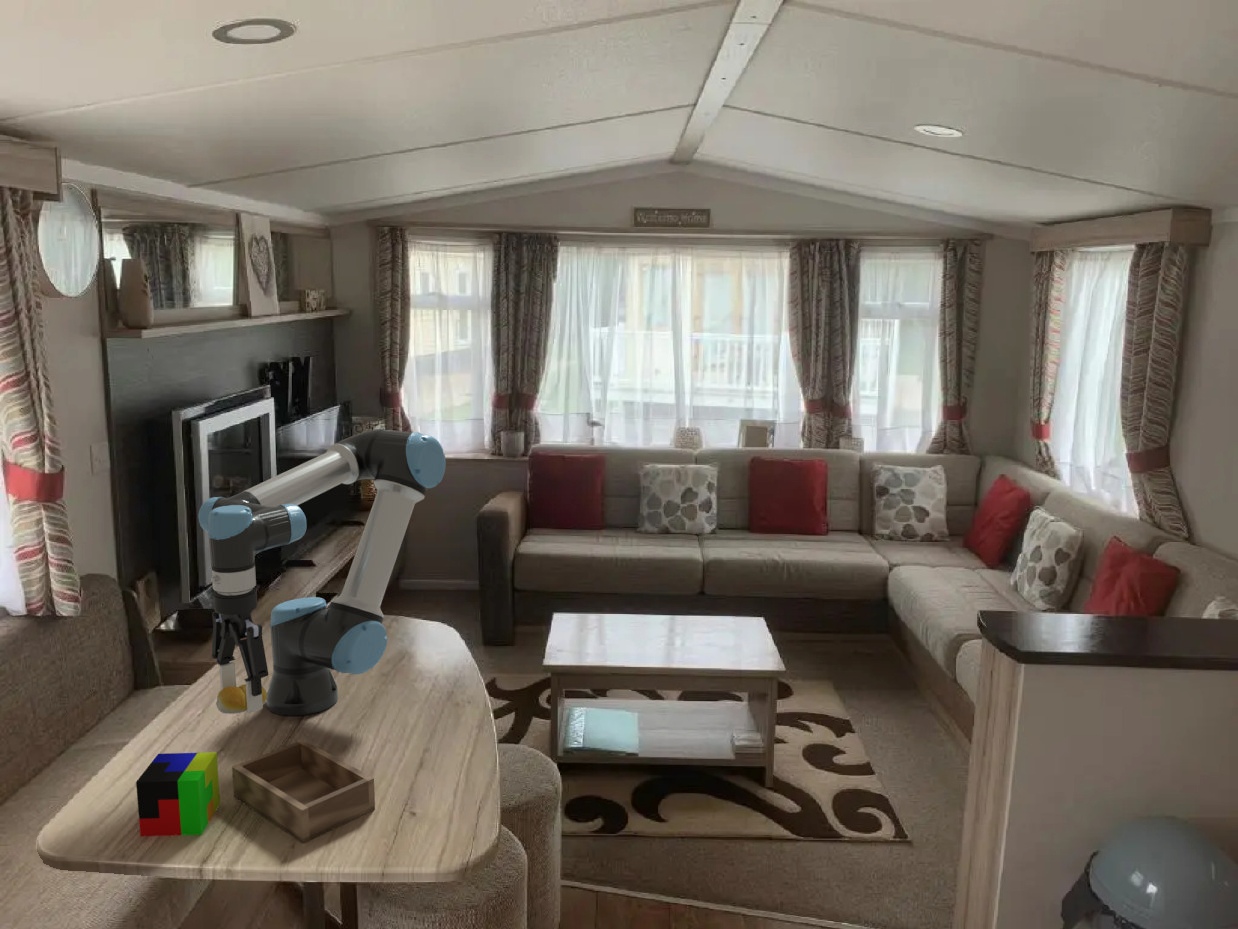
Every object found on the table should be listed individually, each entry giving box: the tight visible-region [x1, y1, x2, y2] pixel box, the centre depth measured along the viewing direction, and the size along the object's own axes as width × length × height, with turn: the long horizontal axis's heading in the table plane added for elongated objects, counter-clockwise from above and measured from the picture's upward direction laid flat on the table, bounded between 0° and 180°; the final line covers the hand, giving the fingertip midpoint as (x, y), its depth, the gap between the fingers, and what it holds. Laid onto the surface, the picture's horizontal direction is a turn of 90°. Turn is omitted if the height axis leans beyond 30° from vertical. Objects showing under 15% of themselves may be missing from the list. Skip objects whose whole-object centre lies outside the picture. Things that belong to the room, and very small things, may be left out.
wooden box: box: [231, 739, 376, 844], centre depth 177 cm, size 22×14×6 cm, turn 50°
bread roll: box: [215, 683, 267, 715], centre depth 188 cm, size 8×9×4 cm
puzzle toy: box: [135, 751, 221, 837], centre depth 171 cm, size 10×10×10 cm
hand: (242, 703), depth 188 cm, fingers closed on bread roll, 9 cm apart
